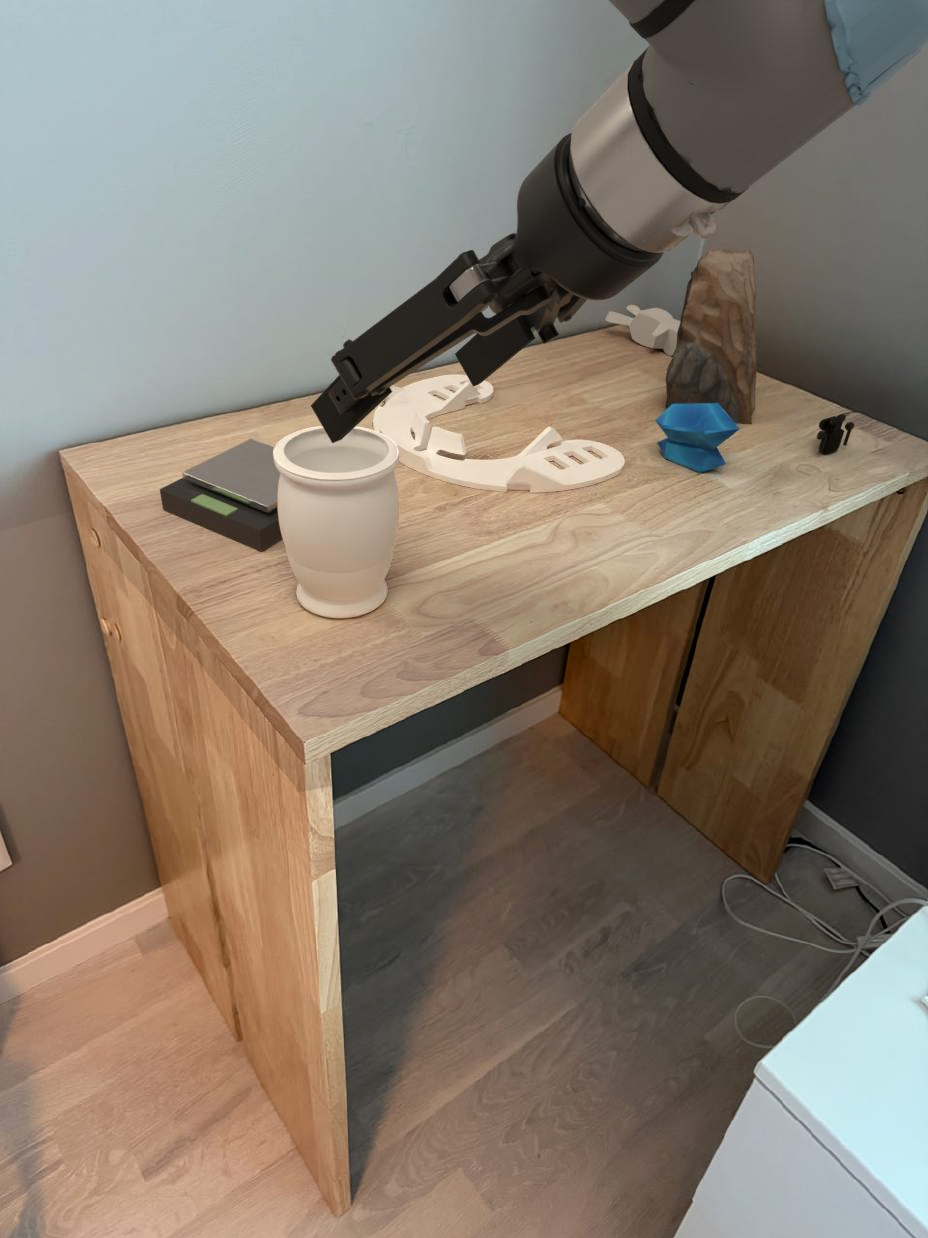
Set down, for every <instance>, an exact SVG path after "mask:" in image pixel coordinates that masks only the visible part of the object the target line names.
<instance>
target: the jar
mask: <svg viewBox="0 0 928 1238" xmlns="http://www.w3.org/2000/svg"><path fill="white" fill-rule="evenodd" d="M273 447H274V449H273V457H274V463H275V466H276V468H277V469H278V471H279V472H280V473H281V474H280V478H279V484H278V499H277V505H278V519H279V525H280V530H281V535H282V538H283V539H282V541H283V545H284V547H285V551H286V556H287V561H288V563H289V566H290V569H291V571H292V573H293V575H294V577H295V579H296V580H297V582H298V583H297V585H296V591H295V593H296V599H297V601H298V603H299V604H300V605H301V606H302V607H303V608H304V610H307V611H308V612H310V613H312V614H314V615H317V616H321V617H324V618H331V619H349V618H356V617H360V616H363V615H366V614H368V613H371V612H373V611H374V610H376V609H378V608H379V607H380V606H381V605H382V604H383V603H384V602H385V600H386V598H387V596H388V590H389V589H388V585H387V582H386V577H387V575H388V573H389V571H390V568H391V565H392V561H393V557H394V551H395V545H396V541H397V536H398V530H399V525H400V523H399V522H400V495H399V488H398V482H397V476H396V473H395V470H396V469H397V467H398V465H399V463H400V462H399V450H398V447H397V445H396V443H395V442H394V441H393V440H392V439H391V438H389V437H388V436H386V435H384V434H382V433H380V432H377V431H374V429H372V428H368V427H362V426H358V425H357V426H355V427H354V428H353V429H352V430H351V431H350V432H349V433H348V434H347V435H346V436H345V437H344V438H343V439H342V440H340V441H337V442H335V443H332V442H331V440H330V438H329V437H328V435H327V433H326V431H325V430H324V428H323V426H322V425H317V426H311V427H307V428H303V429H300V430H297V431H294V432H291V433H290V434H287V435H286V436H284V437H282V438H281V439H280V440H278V441H277V442H276V444H275V445H274V446H273Z"/></svg>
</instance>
